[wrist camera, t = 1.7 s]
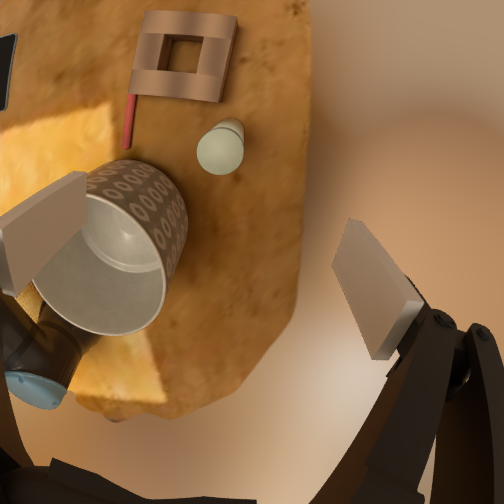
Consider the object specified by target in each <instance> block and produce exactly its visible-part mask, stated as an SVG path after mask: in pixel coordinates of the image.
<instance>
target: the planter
mask: <svg viewBox="0 0 504 504" xmlns="http://www.w3.org/2000/svg"><path fill="white" fill-rule="evenodd" d="M86 214H87V223H86V224H85V225H84V226H83V227H82V228H81V229H80V230H79V231H78V232H77V233H76V234H75V235H74V236H73V237H72V238H71V239H70V240H69V241H68V242H67V243H66V244H65V245H64V246H63V247H62V248H61V249H60V250H59V251H58V252H57V253H56V254H55V255H54V256H53V257H52V258H51V259H50V260H49V261H48V263H47V264H46V265H45V266H44V267H43V268H42V269H41V270H40V271H39V272H38V274H37V275H36V276H35V277H34V278H33V279H32V281H33V283H34V285H35V287H36V289H37V290H38V292H39V293H40V295H41V296H42V298H43V299H44V300H45V301H46V302H47V304H48V305H49V306H50V307H51V308H52V309H53V310H54V311H55V312H57V313H58V314H59V315H60V316H61V317H63V318H64V319H65V320H67V321H68V322H70V323H72V324H73V325H75V326H77V327H79V328H81V329H84V330H86V331H89V332H92V333H96V334H100V335H106V336H122V335H128V334H132V333H135V332H138V331H140V330H142V329H143V328H145V327H147V326H148V325H149V324H150V323H151V322H152V321H153V320H154V319H155V318H156V317H157V315H158V314H159V312H160V310H161V309H162V306H163V304H164V301H165V298H166V295H167V292H168V289H169V286H170V283H171V280H172V277H173V275H174V272H175V269H176V266H177V263H178V261H179V258H180V255H181V252H182V250H183V247H184V244H185V241H186V238H187V233H188V214H187V210H186V206H185V203H184V200H183V198H182V196H181V194H180V192H179V191H178V189H177V188H176V186H175V185H174V184H173V182H172V181H171V180H170V179H169V178H168V177H167V176H166V175H165V174H163V173H162V172H161V171H159V170H158V169H156V168H154V167H153V166H151V165H148V164H146V163H143V162H140V161H135V160H117V161H112V162H109V163H106V164H104V165H102V166H100V167H98V168H97V169H95V170H93V171H91V172H90V173H88V174H87V182H86Z"/></svg>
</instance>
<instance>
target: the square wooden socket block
mask: <svg viewBox="0 0 504 504" xmlns="http://www.w3.org/2000/svg"><path fill="white" fill-rule="evenodd" d="M237 27H238V22H237V17H236V16H228V15H220V14H211V13H200V12H185V11H145V14H144V17H143V21H142V25H141V30H140V34H139V38H138V43H137V47H136V52H135V57H134V62H133V67H132V73H131V79H130V85H129V91H128V94H141V95H155V96H167V97H177V98H186V99H195V100H203V101H210V102H217V103H220V102H221V100H222V95H223V90H224V85H225V80H226V75H227V71H228V66H229V62H230V57H231V53H232V48H233V44H234V40H235V35H236V31H237ZM173 40H179V41H192V42H202V43H203V44H202V49H201V53H200V58H199V63H198V67H197V72H196V74H194V73H184V72H173V71H167V66H168V61H169V56H170V51H171V47H172V42H173Z"/></svg>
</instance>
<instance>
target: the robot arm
mask: <svg viewBox="0 0 504 504" xmlns="http://www.w3.org/2000/svg"><path fill="white" fill-rule="evenodd" d="M86 182H87V172H80V171H73V172H71V173H70V174H68V175H66V176H64V177H62V178H61V179H59V180H57V181H55V182H54V183H52V184H50V185H49V186H47V187H45V188H44V189H42V190H40V191H39V192H37V193H36V194H34V195H32V196H31V197H29V198H28V199H26V200H25V201H23V202H22V203H20V204H19V205H17V206H16V207H14V208H13V209H11V210H10V211H8V212H7V213H5V214H4V215H2V216H1V217H0V504H257V501H256V500H249V499H229V498H216V497H206V496H202V497H193V498H179V499H156V500H155V499H154V500H152V499H146V498H143V497H140V496H138V495H136V494H134V493H132V492H130V491H128V490H126V489H124V488H122V487H120V486H118V485H116V484H114V483H112V482H111V481H109V480H107V479H105V478H103V477H102V476H100V475H98V474H96V473H93V472H90V471H87V470H84V469H81V468H78V467H75V466H73V465H70V464H68V463H65V462H62V461H60V460H57V459H55V458H52V460H51V463H50V466H34V464H33V462H32V460H31V458H30V457H29V455H28V454H27V452H26V450H25V448H24V446H23V443H22V440H21V437H20V434H19V431H18V427H17V424H16V420H15V417H14V413H13V409H12V405H11V401H10V396H9V392H8V390H9V391H10V392H11V393H12V394H14V395H15V396H16V397H18V398H19V399H21V400H22V401H24V402H26V403H28V404H30V405H32V406H35V407H37V408H41V409H48V410H50V409H55V408H57V407H58V406H59V405H60V403H61V401H62V399H63V397H64V396H65V395H66V393H67V389H68V387H69V384H70V382H71V380H72V377H73V375H74V373H75V371H76V368H77V366H78V364H79V362H80V360H81V358H82V356H83V355H84V354H85V353H86V352H87V351H88V350H89V349H90V348H92V347H93V346H94V345H95V344H96V343H97V342H98V341H99V339H100V337H101V335H100V334H96V333H92V332H89V331H86V330H84V329H81V328H79V327H77V326H75V325H73V324H72V323H70V322H68V321H67V320H65V319H64V318H63V317H61V316H60V315H59V314H58V313H57V312H55V311H54V310H53V309H52V308H51V307H50V306H49V305H48V304H47V302H46V301H45V300H44V299H43V302H42V304H41V308H40V312H39V316H38V320H37V323H35V322H34V321H33V320H32V319H31V318H30V316H29V315H28V314H27V313H26V312H25V311H24V309H23V308H22V307H21V306H20V305H19V303H18V302H17V301H16V300H15V298H14V297H16V298H17V297H18V296H19V294H20V293H21V292H22V291H23V290H24V288H25V287H26V286H27V285H28V284H29V283H30V281H31V280H32V279H33V278H34V277H35V276H36V275H37V274H38V272H39V271H40V270H41V269H42V268H43V267H44V266H45V265H46V264H47V263H48V261H49V260H50V259H51V258H52V257H53V256H54V255H55V254H56V253H57V252H58V251H59V250H60V249H61V248H62V247H63V246H64V245H65V244H66V243H67V242H68V241H69V240H70V239H71V238H72V237H73V236H74V235H75V234H76V233H77V232H78V231H79V230H80V229H81V228H82V227H83V226H84V225H85V224H86V223H87V214H86ZM332 267H333V270H334V272H335V274H336V276H337V278H338V281H339V283H340V285H341V287H342V290H343V292H344V294H345V296H346V299H347V301H348V303H349V306H350V308H351V310H352V313H353V315H354V317H355V319H356V322H357V324H358V327H359V329H360V332H361V334H362V337H363V339H364V341H365V344H366V346H367V349H368V351H369V354H370V356H371V359H372V360H389V359H390V357H391V356H392V354H393V353H394V351H395V350H396V348H397V350H398V353H399V355H400V357H399V358H398V360H397V361H396V362H395V364H394V365H393V367H392V368H391V370H390V371H389V372H388V374H387V375H386V377H388V379H387V381H386V383H385V385H384V387H383V389H382V391H381V393H380V395H379V397H378V399H377V401H376V402H375V404H374V406H373V408H372V410H371V411H370V413H369V415H368V417H367V419H366V420H365V422H364V424H363V425H362V427H361V429H360V431H359V432H358V434H357V436H356V437H355V439H354V440H353V442H352V444H351V445H350V447H349V448H348V450H347V452H346V453H345V455H344V456H343V458H342V459H341V461H340V462H339V464H338V465H337V467H336V468H335V470H334V471H333V473H332V474H331V475H330V477H329V478H328V479H327V481H326V482H325V484H324V485H323V486H322V488H321V489H320V491H319V492H318V493H317V494H316V496H315V497H314V498H313V499H312V500H311V501H310V503H309V504H424V502H425V498H424V495H423V494H421V493H419V492H418V491H417V488H418V485H419V482H420V480H421V477H422V474H423V472H424V469H425V466H426V464H427V461H428V458H429V455H430V452H431V449H432V446H433V443H434V439H435V436H436V448H435V463H434V473H433V482H432V490H431V498H430V504H504V366H503V363H502V359H501V356H500V353H499V350H498V347H497V344H496V341H495V338H494V336H493V335H492V333H491V332H490V330H489V329H488V328H487V327H485V326H482V325H481V324H478V323H473V324H472V325H471V326H470V328H469V329H468V331H467V332H463V331H460V330H457V326H456V323H455V322H454V320H453V319H452V318H451V317H450V316H449V315H448V314H446V313H445V312H443V311H441V310H438V309H431V308H430V306H429V305H428V303H427V302H426V300H425V299H424V298H423V296H422V295H421V294H420V293H419V291H418V289H417V288H416V287H415V285H414V284H413V283H412V281H411V280H410V279H409V278H408V277H407V276H406V275H405V274H403V272H402V271H401V270H400V269H399V267H398V266H397V264H396V263H395V262H394V261H393V259H392V258H391V257H390V256H389V254H388V253H387V251H386V250H385V249H384V248H383V246H382V245H381V244H380V243H379V241H378V240H377V239H376V238H375V236H374V235H373V234H372V233H371V232H370V230H369V229H368V228H367V227H366V226H365V224H364V223H363V222H362V221H358V220H354V219H349V220H348V222H347V225H346V228H345V231H344V234H343V236H342V239H341V242H340V245H339V248H338V250H337V253H336V255H335V258H334V261H333V264H332ZM468 378H469V379H468ZM467 379H468V381H467V382H466V380H467Z"/></svg>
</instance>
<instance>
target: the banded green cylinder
mask: <svg viewBox="0 0 504 504" xmlns="http://www.w3.org/2000/svg"><path fill="white" fill-rule="evenodd" d="M243 155H244V128H243V125H242V124H241V123H240V122H239V121H238V120H237V119H234V118H226V119H223V120H221V121H220V122H219V123H218V124H217V125H216V126H215V127H213V128H212V129H211V130H210V131H209V132H207V133H206V134H205V135H204V136H203V137H202V139H201V140H200V142H199V144H198V147H197V158H198V161H199V163H200V165H201V166H202V167H203V168H204V169H205V170H206V171H208V172H210V173H212V174H216V175H224V174H228V173H231V172H232V171H234V170H235V169H236V168H237V167H238V166H239V165H240V163H241V161H242V159H243Z"/></svg>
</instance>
